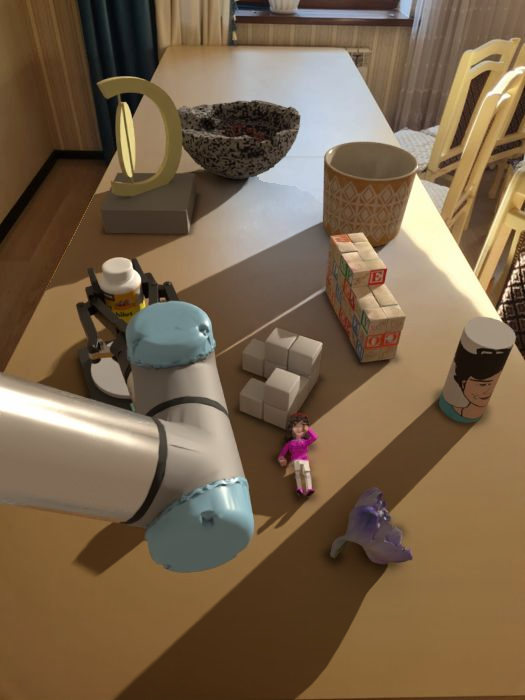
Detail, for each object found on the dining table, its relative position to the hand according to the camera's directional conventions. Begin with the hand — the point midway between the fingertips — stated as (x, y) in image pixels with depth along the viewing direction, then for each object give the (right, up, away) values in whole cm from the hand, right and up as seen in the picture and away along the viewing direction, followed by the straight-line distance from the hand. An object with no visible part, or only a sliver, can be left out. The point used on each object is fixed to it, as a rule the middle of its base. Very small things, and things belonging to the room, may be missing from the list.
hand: (113, 271), depth 78 cm
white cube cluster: (+23, -18, +8) cm, 30 cm away
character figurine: (+26, -27, -2) cm, 38 cm away
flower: (+34, -36, -12) cm, 51 cm away
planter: (+44, +16, +45) cm, 65 cm away
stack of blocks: (+39, -6, +20) cm, 44 cm away
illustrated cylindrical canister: (+52, -20, +6) cm, 56 cm away
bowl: (+15, +36, +66) cm, 77 cm away
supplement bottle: (+2, -8, +1) cm, 8 cm away
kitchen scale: (+2, -16, +9) cm, 19 cm away
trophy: (-4, +21, +49) cm, 54 cm away
